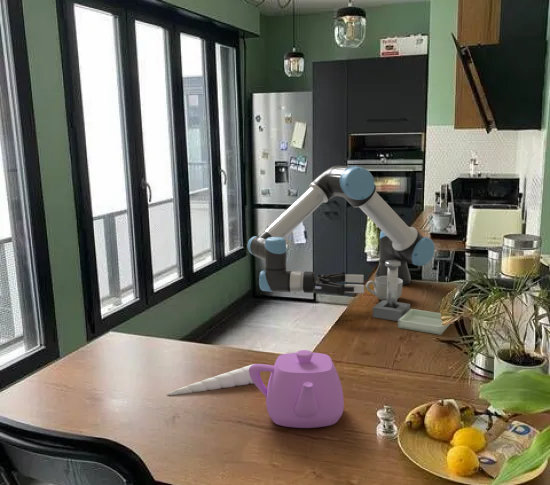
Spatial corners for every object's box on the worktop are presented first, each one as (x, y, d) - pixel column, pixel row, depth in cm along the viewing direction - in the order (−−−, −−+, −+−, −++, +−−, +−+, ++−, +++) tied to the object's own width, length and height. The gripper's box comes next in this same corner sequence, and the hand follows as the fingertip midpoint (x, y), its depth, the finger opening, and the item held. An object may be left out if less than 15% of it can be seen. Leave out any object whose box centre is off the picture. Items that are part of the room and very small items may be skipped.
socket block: (382, 309, 197) (383, 300, 196) (409, 313, 192) (410, 304, 191) (372, 317, 189) (372, 307, 188) (400, 321, 183) (400, 311, 183)
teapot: (251, 398, 131) (250, 339, 128) (339, 397, 131) (339, 338, 128) (245, 451, 109) (244, 381, 106) (351, 451, 108) (352, 380, 106)
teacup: (400, 295, 214) (401, 275, 212) (404, 303, 203) (404, 283, 202) (364, 295, 215) (365, 275, 214) (366, 303, 204) (366, 282, 203)
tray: (410, 315, 190) (411, 308, 189) (451, 322, 182) (452, 314, 182) (397, 327, 178) (397, 320, 177) (440, 334, 171) (441, 327, 170)
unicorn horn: (164, 389, 137) (163, 372, 136) (256, 378, 143) (256, 360, 142) (166, 398, 132) (165, 380, 131) (260, 385, 138) (260, 368, 138)
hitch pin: (386, 312, 194) (388, 259, 190) (401, 314, 191) (402, 261, 187) (381, 316, 189) (383, 262, 186) (396, 318, 187) (397, 264, 183)
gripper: (306, 283, 205) (363, 284, 202) (299, 302, 181) (364, 304, 178) (306, 263, 204) (363, 265, 201) (299, 280, 180) (364, 282, 177)
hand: (363, 283), depth 190 cm, fingers open, 13 cm apart
